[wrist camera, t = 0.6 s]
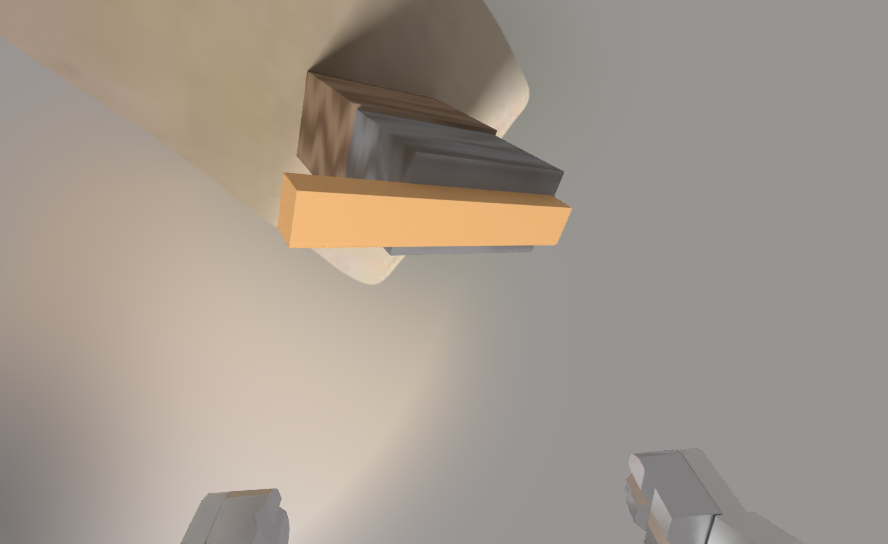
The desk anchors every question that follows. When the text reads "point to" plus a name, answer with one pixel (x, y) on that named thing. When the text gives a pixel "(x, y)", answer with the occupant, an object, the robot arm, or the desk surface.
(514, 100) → the desk surface
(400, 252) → the tower
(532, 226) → the orange bar
